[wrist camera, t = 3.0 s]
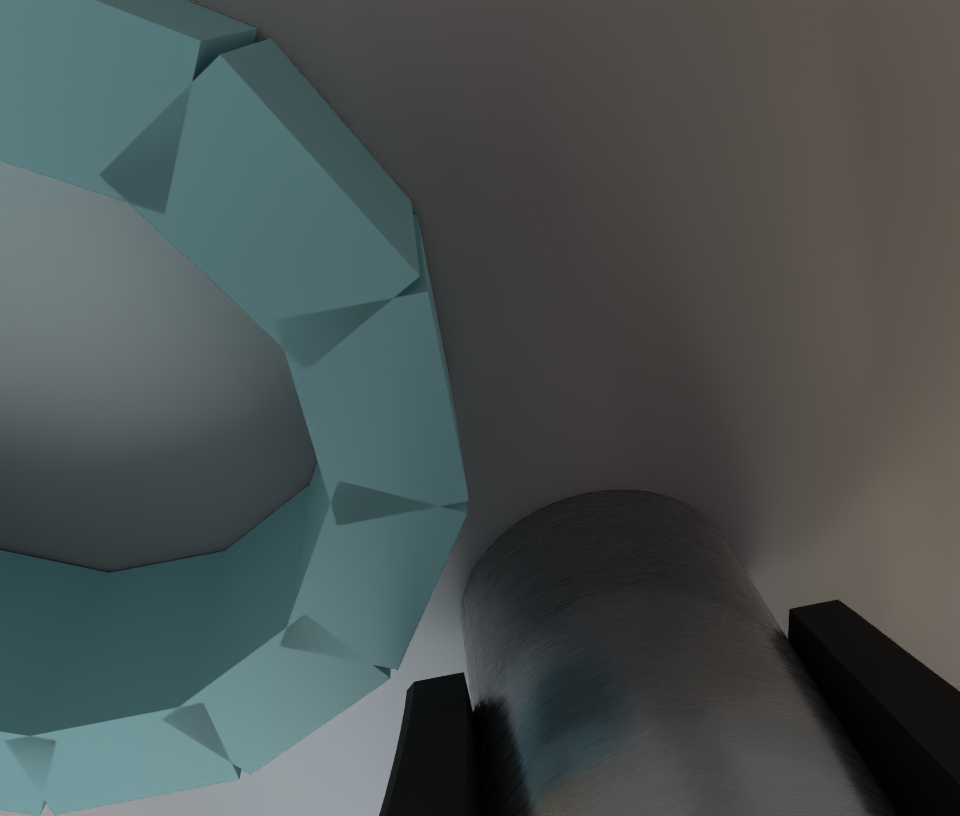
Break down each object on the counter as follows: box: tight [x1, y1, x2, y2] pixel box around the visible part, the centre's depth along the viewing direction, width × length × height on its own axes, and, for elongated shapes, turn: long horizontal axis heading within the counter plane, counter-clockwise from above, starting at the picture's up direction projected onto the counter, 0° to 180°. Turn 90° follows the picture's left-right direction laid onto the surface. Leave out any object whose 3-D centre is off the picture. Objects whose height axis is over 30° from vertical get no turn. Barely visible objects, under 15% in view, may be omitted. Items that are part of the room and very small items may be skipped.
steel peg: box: [462, 490, 898, 816], centre depth 8 cm, size 4×4×6 cm
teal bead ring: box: [0, 0, 469, 816], centre depth 8 cm, size 8×8×2 cm
